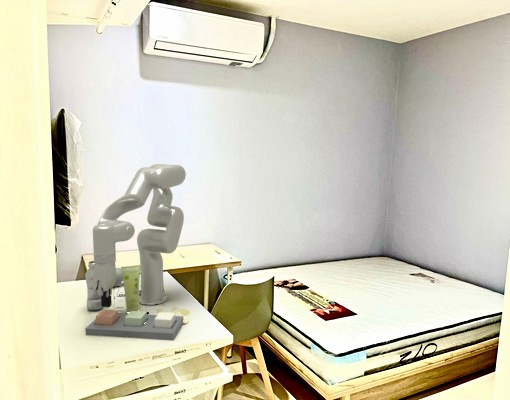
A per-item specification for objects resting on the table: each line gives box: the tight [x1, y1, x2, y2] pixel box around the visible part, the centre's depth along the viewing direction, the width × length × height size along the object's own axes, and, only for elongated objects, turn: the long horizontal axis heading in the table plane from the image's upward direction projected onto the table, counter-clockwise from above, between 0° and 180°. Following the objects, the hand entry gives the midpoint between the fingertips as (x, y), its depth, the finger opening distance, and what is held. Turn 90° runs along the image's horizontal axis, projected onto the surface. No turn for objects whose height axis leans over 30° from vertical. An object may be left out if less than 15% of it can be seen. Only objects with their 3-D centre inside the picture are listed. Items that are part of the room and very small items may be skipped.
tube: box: [120, 264, 141, 313], centre depth 165 cm, size 6×5×20 cm
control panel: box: [84, 312, 184, 341], centre depth 152 cm, size 14×32×2 cm, turn 85°
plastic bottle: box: [84, 260, 103, 311], centre depth 168 cm, size 6×7×20 cm
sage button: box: [125, 310, 148, 327], centre depth 152 cm, size 6×6×4 cm
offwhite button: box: [154, 311, 176, 329], centre depth 151 cm, size 6×6×4 cm
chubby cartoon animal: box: [114, 267, 123, 288], centre depth 197 cm, size 7×12×8 cm, turn 126°
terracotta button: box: [95, 309, 119, 325], centre depth 153 cm, size 6×6×4 cm
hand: (106, 306), depth 152 cm, fingers closed
